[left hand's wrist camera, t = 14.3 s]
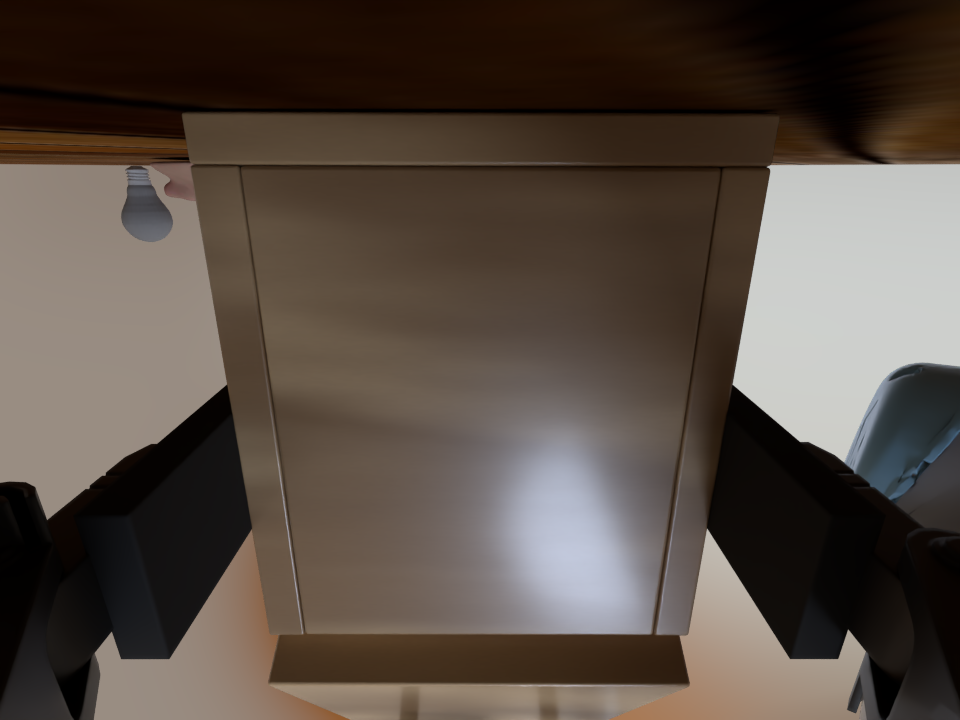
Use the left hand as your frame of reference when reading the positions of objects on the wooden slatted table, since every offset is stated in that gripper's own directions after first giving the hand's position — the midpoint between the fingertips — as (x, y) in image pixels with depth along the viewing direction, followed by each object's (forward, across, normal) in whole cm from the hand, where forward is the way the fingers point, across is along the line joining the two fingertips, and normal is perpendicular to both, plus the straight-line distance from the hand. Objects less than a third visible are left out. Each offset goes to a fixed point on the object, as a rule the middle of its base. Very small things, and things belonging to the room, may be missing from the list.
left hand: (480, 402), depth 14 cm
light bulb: (+61, +46, -7) cm, 77 cm away
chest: (+3, 0, -6) cm, 7 cm away
